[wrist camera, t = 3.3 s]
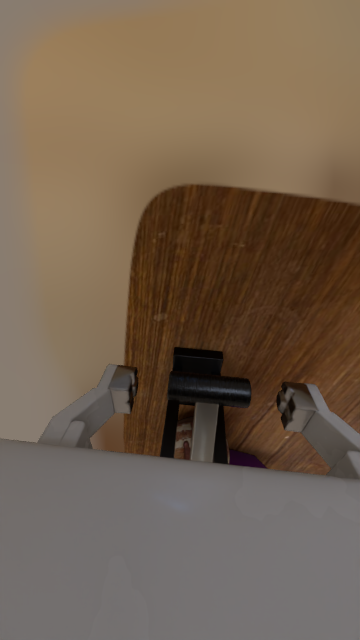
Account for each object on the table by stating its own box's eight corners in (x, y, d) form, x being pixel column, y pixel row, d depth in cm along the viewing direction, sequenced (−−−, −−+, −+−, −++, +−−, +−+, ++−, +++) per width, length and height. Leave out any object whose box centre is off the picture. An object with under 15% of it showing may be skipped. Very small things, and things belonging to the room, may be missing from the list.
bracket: (169, 346, 24) (119, 632, 9) (227, 351, 24) (266, 653, 9) (168, 394, 29) (132, 637, 14) (216, 399, 28) (230, 651, 14)
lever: (171, 364, 13) (167, 380, 10) (243, 371, 13) (256, 389, 10) (154, 580, 14) (146, 636, 12) (217, 588, 14) (222, 647, 12)
